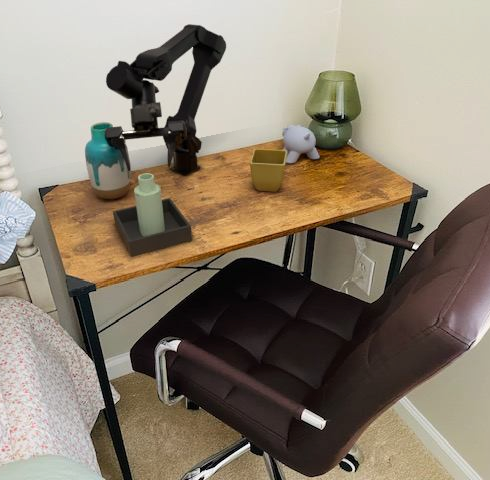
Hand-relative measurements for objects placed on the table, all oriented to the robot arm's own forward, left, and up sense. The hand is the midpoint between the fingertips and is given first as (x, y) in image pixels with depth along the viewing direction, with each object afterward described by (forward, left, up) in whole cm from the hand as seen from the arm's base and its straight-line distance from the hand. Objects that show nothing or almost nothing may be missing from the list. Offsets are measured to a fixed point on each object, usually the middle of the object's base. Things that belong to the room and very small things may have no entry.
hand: (149, 168), depth 113 cm
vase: (-16, 0, -13) cm, 20 cm away
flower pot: (+13, +29, -13) cm, 34 cm away
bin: (+6, -6, -12) cm, 15 cm away
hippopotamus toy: (+7, +51, -13) cm, 53 cm away
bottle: (+6, -6, -12) cm, 14 cm away
